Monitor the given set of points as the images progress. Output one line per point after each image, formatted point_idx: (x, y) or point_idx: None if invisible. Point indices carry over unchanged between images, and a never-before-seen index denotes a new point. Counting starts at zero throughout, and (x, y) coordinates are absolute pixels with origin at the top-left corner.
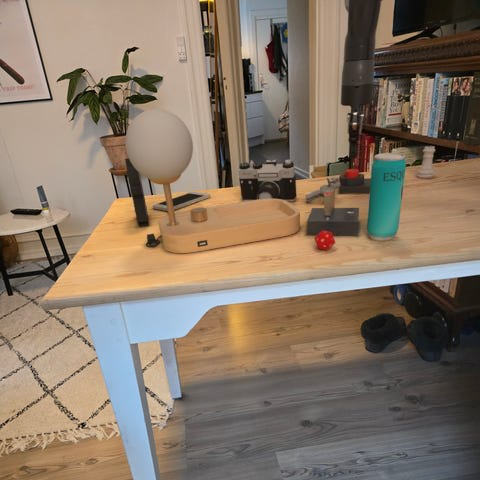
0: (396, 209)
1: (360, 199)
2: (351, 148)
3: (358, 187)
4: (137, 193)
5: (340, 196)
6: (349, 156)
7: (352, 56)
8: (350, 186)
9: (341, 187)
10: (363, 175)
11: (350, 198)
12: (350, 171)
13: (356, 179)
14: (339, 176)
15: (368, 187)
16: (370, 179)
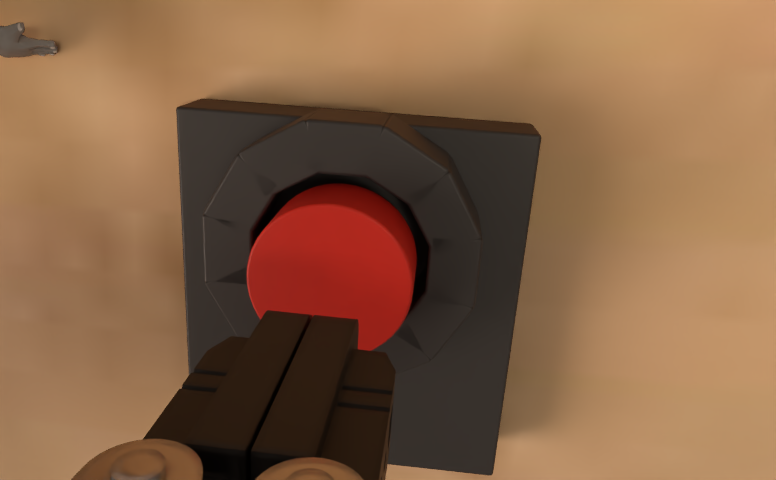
0: None
1: (24, 270)
2: (164, 422)
3: (186, 286)
4: None
5: (105, 112)
6: (266, 325)
7: None
8: (192, 219)
9: (178, 131)
10: None
11: (46, 195)
12: (275, 264)
13: (217, 295)
14: (327, 122)
15: (192, 365)
16: (451, 412)
